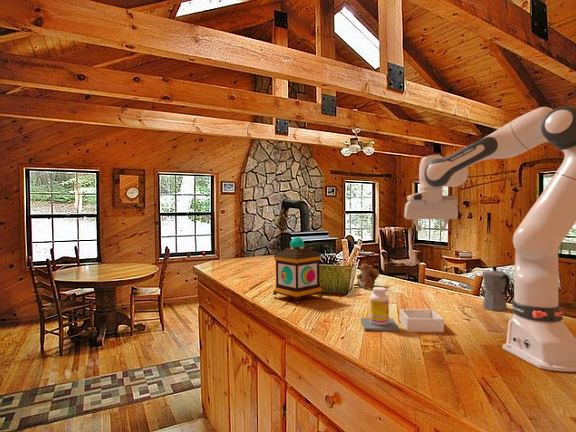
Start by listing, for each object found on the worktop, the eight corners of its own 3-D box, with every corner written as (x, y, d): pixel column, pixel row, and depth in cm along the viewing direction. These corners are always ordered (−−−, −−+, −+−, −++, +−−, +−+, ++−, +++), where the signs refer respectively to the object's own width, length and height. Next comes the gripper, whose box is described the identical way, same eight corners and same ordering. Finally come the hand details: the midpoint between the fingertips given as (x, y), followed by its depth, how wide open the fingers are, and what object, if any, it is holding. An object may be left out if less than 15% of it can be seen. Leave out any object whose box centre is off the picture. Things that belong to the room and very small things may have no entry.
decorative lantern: (269, 298, 179) (268, 236, 178) (298, 291, 192) (297, 234, 192) (297, 305, 164) (296, 239, 164) (326, 298, 177) (326, 236, 177)
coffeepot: (474, 304, 162) (474, 264, 162) (494, 304, 163) (494, 263, 163) (498, 314, 147) (498, 270, 146) (520, 313, 148) (520, 269, 147)
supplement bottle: (389, 326, 131) (389, 290, 131) (370, 325, 132) (370, 290, 132) (388, 320, 138) (388, 286, 137) (370, 319, 139) (370, 286, 139)
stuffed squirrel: (351, 287, 201) (351, 263, 201) (367, 283, 210) (367, 260, 210) (366, 290, 193) (366, 265, 193) (382, 286, 203) (382, 262, 202)
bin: (443, 332, 127) (443, 319, 127) (408, 331, 128) (408, 318, 128) (432, 321, 139) (432, 309, 139) (400, 320, 140) (399, 309, 140)
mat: (399, 331, 129) (399, 328, 128) (365, 330, 129) (365, 328, 129) (392, 320, 140) (392, 318, 140) (360, 320, 141) (360, 318, 141)
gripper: (454, 196, 149) (454, 230, 149) (403, 196, 150) (403, 230, 150) (460, 195, 142) (460, 231, 143) (406, 196, 144) (407, 231, 144)
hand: (430, 230), depth 146 cm, fingers open, 8 cm apart
